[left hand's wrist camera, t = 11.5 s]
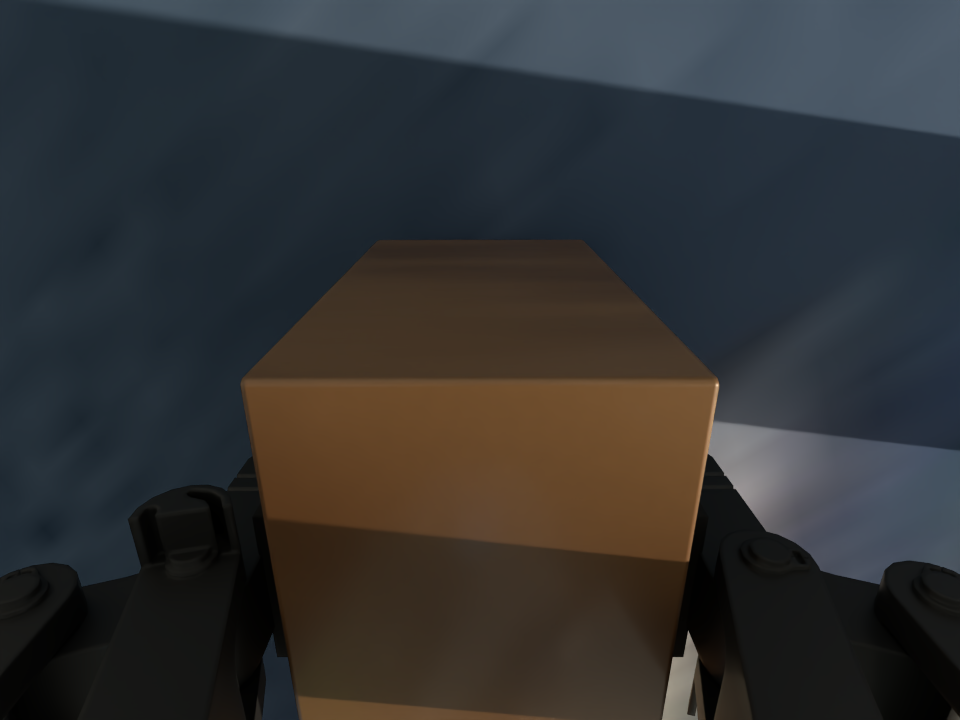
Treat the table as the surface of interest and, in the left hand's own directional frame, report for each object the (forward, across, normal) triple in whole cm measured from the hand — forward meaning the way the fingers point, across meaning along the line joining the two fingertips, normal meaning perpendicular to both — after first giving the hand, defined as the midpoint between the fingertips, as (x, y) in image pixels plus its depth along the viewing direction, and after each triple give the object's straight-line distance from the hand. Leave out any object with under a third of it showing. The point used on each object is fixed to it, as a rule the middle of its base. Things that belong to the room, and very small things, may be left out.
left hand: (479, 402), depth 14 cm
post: (+1, 0, -25) cm, 25 cm away
